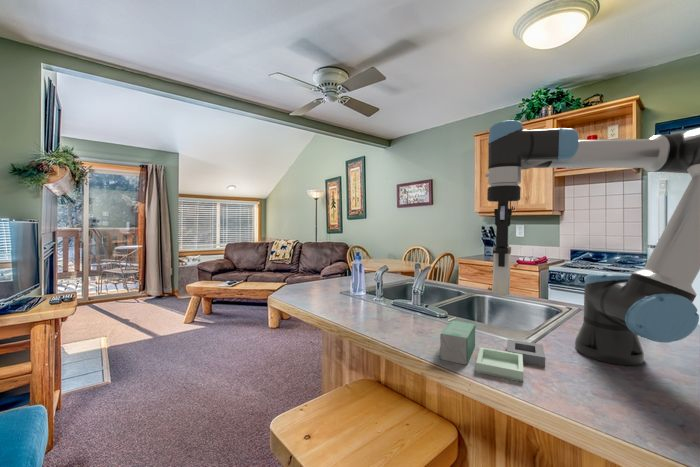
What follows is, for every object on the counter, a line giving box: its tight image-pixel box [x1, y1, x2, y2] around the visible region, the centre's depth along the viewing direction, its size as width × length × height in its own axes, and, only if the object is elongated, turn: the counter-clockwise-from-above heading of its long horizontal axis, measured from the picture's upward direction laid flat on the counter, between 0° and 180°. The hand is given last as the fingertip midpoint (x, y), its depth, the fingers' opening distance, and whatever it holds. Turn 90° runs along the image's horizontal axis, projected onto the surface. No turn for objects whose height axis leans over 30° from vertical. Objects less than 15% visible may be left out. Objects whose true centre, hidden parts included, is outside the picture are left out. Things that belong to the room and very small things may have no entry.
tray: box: [475, 346, 524, 383], centre depth 83 cm, size 10×10×2 cm
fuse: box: [492, 245, 512, 296], centre depth 81 cm, size 4×4×12 cm
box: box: [439, 320, 476, 365], centre depth 92 cm, size 7×14×8 cm, turn 150°
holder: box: [506, 338, 546, 368], centre depth 89 cm, size 9×9×2 cm
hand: (501, 277), depth 81 cm, fingers closed on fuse, 4 cm apart
